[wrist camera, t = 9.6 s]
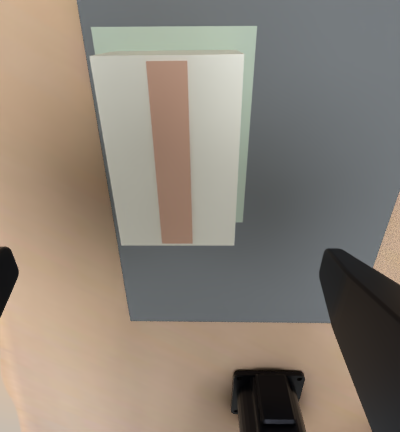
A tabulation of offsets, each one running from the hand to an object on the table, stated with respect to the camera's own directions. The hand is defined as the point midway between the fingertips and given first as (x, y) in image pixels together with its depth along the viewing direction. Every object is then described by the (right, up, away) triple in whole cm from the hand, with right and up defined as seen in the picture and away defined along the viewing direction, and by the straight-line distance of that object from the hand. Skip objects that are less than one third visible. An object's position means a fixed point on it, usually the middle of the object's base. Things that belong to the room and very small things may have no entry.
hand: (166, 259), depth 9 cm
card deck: (0, +6, +9) cm, 10 cm away
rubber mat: (+4, +2, +11) cm, 12 cm away
